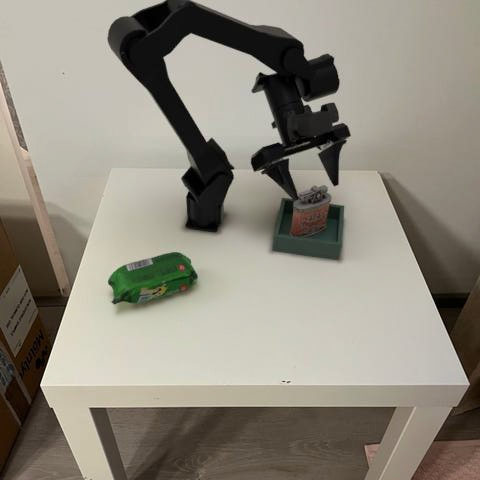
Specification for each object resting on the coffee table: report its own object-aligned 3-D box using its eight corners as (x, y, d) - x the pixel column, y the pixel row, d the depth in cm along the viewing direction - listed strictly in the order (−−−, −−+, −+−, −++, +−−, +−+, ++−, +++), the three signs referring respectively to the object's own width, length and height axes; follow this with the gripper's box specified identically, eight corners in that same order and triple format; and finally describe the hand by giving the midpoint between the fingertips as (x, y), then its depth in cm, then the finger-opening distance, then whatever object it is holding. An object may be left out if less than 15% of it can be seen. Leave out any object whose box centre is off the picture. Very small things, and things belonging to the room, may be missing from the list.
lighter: (319, 221, 98) (327, 178, 91) (329, 231, 96) (338, 187, 89) (285, 233, 95) (291, 189, 88) (295, 243, 93) (301, 199, 86)
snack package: (105, 289, 85) (99, 267, 81) (189, 264, 89) (187, 242, 85) (116, 317, 80) (111, 295, 76) (203, 289, 85) (203, 267, 81)
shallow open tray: (272, 250, 93) (273, 235, 90) (280, 212, 101) (281, 197, 98) (338, 260, 91) (341, 245, 89) (341, 220, 100) (344, 205, 97)
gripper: (263, 100, 75) (297, 196, 77) (355, 76, 82) (384, 165, 84) (236, 127, 86) (267, 212, 88) (319, 104, 92) (346, 183, 95)
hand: (316, 192), depth 88 cm, fingers open, 9 cm apart
